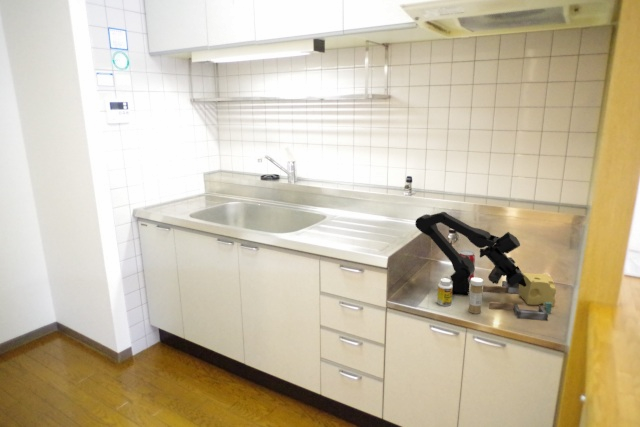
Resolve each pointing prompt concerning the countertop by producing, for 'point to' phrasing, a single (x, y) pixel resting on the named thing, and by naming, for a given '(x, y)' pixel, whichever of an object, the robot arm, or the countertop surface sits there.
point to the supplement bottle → (445, 292)
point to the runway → (520, 313)
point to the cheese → (538, 289)
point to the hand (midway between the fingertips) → (525, 285)
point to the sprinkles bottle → (475, 295)
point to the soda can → (471, 257)
